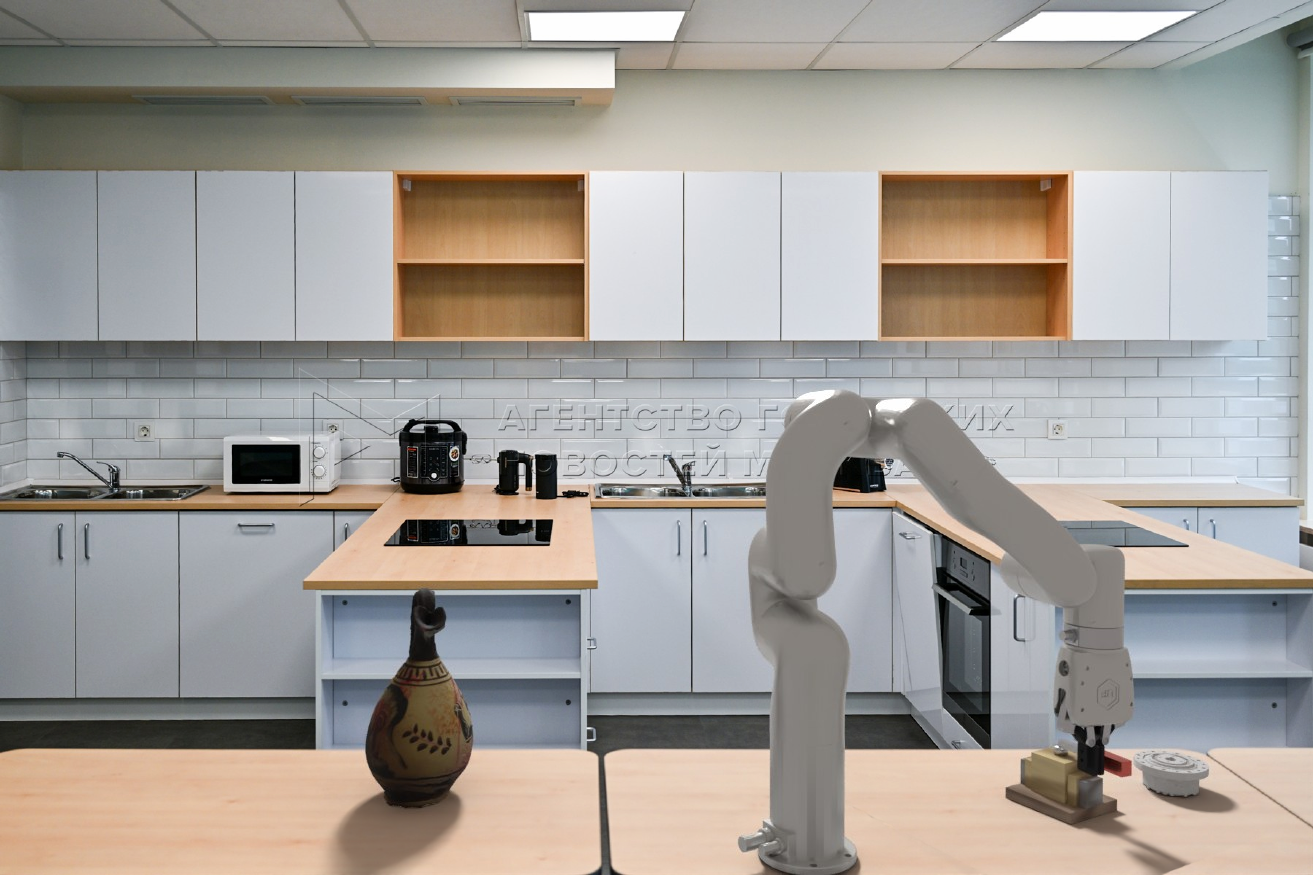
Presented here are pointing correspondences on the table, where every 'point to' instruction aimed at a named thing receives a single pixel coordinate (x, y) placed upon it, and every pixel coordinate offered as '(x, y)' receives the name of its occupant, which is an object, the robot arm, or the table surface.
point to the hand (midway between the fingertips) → (1090, 772)
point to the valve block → (1060, 788)
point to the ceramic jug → (420, 720)
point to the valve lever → (1111, 761)
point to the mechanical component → (1171, 772)
